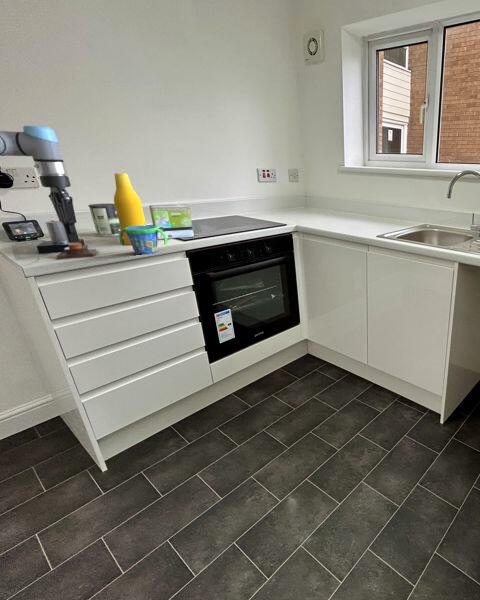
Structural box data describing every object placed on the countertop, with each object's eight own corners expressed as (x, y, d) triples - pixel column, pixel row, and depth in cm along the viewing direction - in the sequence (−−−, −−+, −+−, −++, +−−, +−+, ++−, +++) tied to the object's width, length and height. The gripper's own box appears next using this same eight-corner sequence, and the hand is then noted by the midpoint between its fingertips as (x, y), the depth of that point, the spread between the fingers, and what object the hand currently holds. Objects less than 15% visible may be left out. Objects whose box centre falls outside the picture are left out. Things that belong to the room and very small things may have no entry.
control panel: (38, 253, 133) (35, 245, 132) (47, 248, 141) (44, 240, 140) (79, 251, 139) (77, 243, 137) (85, 245, 147) (83, 238, 145)
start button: (68, 250, 129) (67, 245, 129) (71, 248, 132) (69, 243, 132) (81, 249, 131) (79, 244, 130) (83, 247, 134) (82, 242, 133)
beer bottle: (119, 244, 150) (100, 173, 140) (134, 240, 159) (118, 172, 148) (140, 245, 150) (123, 174, 140) (155, 241, 159) (139, 173, 148)
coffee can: (122, 231, 176) (115, 203, 171) (125, 235, 169) (117, 205, 164) (96, 233, 169) (87, 203, 164) (97, 237, 162) (88, 206, 157)
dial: (71, 241, 140) (65, 220, 137) (55, 244, 135) (48, 222, 132) (66, 240, 142) (59, 219, 139) (50, 242, 138) (42, 221, 135)
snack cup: (174, 250, 145) (169, 225, 141) (161, 256, 135) (155, 229, 132) (133, 250, 143) (126, 224, 139) (117, 256, 133) (110, 229, 129)
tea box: (158, 240, 161) (150, 207, 156) (155, 236, 168) (148, 204, 163) (194, 237, 170) (189, 205, 165) (190, 233, 177) (185, 203, 172)
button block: (57, 259, 127) (54, 251, 126) (63, 254, 133) (61, 246, 132) (92, 256, 132) (90, 248, 131) (97, 251, 138) (94, 244, 137)
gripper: (31, 174, 122) (54, 241, 131) (46, 176, 116) (69, 245, 125) (59, 174, 128) (79, 238, 137) (75, 175, 122) (94, 242, 131)
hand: (74, 241), depth 131 cm, fingers closed
